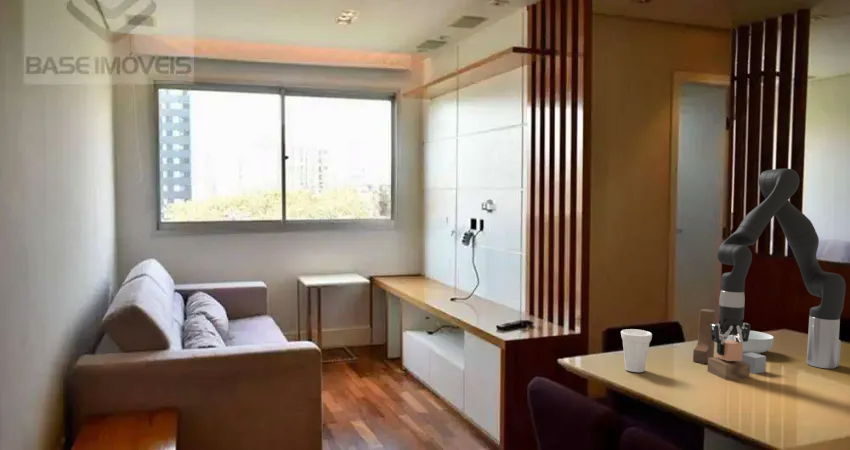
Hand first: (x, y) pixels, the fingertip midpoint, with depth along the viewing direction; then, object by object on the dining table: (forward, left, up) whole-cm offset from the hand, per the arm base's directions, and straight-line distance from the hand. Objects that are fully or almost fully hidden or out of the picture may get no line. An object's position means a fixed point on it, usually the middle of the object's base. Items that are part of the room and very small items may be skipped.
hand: (729, 354), depth 215 cm
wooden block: (-3, -17, -7) cm, 19 cm away
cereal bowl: (-28, -25, -7) cm, 38 cm away
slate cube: (-12, -3, -7) cm, 14 cm away
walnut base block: (0, 0, -7) cm, 7 cm away
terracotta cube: (0, 0, -1) cm, 1 cm away
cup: (+29, -9, -7) cm, 31 cm away
